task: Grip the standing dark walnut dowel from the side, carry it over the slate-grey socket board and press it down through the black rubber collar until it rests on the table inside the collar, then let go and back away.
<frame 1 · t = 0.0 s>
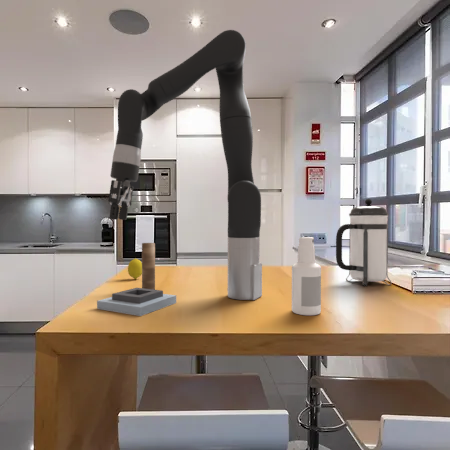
hand: (118, 219, 95), 22 cm above the table, tool pointing down, fingers open, 8 cm apart
socket: (138, 305, 86), on the table
lemon: (135, 279, 125), on the table
coffee press: (365, 284, 117), on the table
spray bottle: (306, 312, 80), on the table
peg: (148, 290, 104), on the table
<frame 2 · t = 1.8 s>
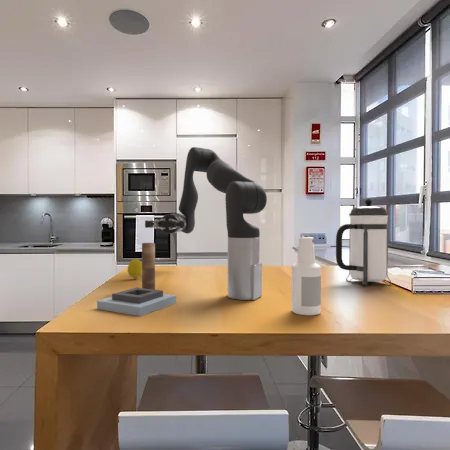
hand: (159, 224, 115), 21 cm above the table, tool horizontal, fingers open, 8 cm apart
nothing on the table moved.
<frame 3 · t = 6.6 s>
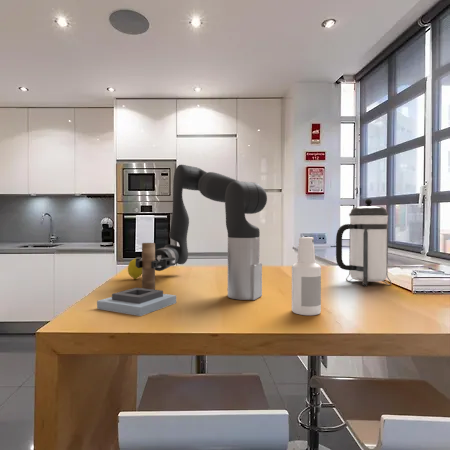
hand: (145, 264, 101), 9 cm above the table, tool horizontal, fingers closed on peg, 4 cm apart
peg: (148, 290, 104), on the table, touching gripper
everything else where it was.
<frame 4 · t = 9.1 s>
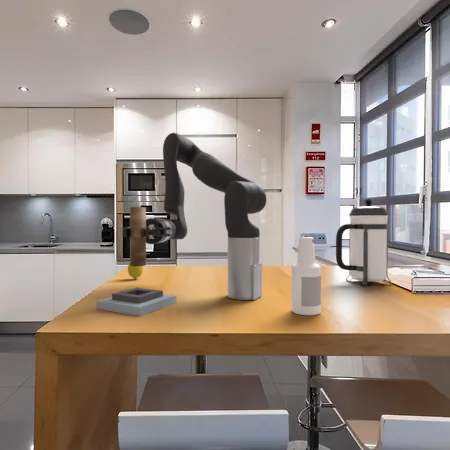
hand: (133, 232, 83), 19 cm above the table, tool horizontal, fingers closed on peg, 4 cm apart
peg: (138, 265, 86), point 10 cm above the table, touching gripper
everything else where it was.
when the fingers open (9 cm above the table, at t = 11.7 s): peg stays where it is, resting in socket.
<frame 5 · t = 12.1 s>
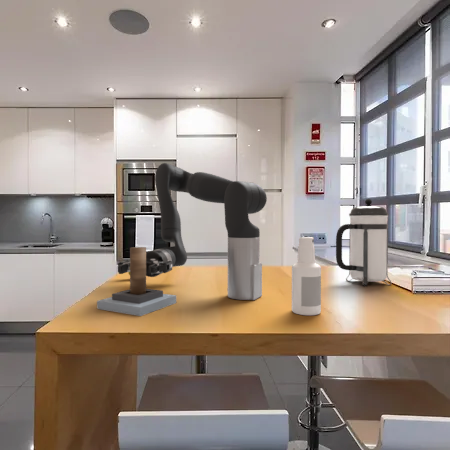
hand: (134, 270, 83), 10 cm above the table, tool horizontal, fingers open, 7 cm apart
peg: (138, 305, 86), resting in socket
everything else where it was.
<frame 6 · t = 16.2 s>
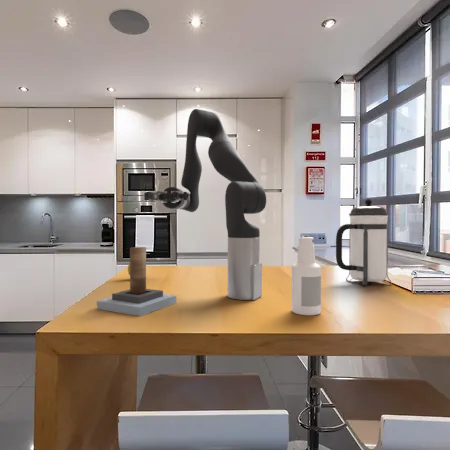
hand: (160, 194, 102), 30 cm above the table, tool horizontal, fingers open, 8 cm apart
nothing on the table moved.
at the end: peg 0.1 cm off-centre on the socket, point 0.0 cm above the socket's base; peg tilted 0°; the gripper is holding nothing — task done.
